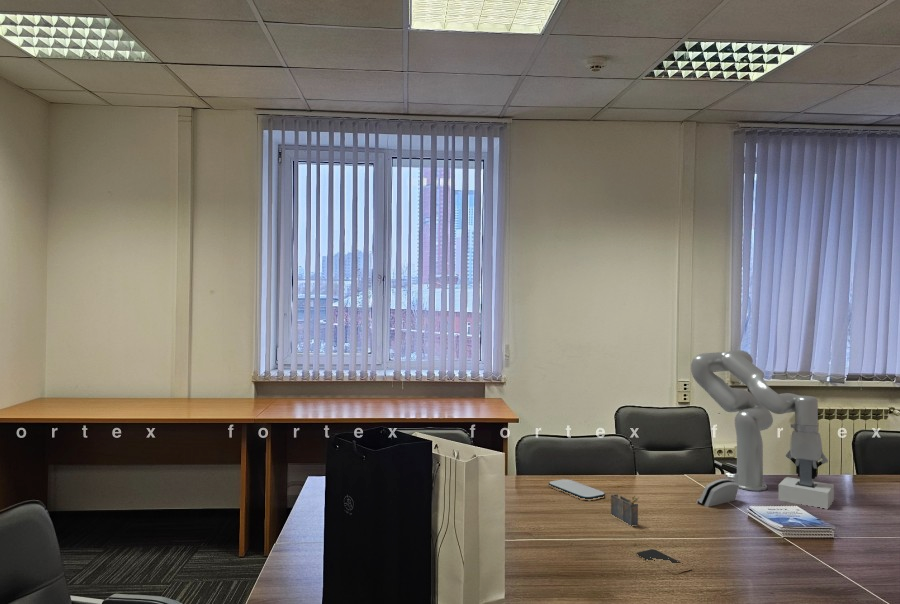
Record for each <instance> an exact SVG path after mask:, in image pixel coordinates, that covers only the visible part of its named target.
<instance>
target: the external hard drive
mask: <svg viewBox="0 0 900 604" xmlns="http://www.w3.org/2000/svg"><path fill="white" fill-rule="evenodd" d="M549 485H551V486H553V487H556V488H558V489H561V490H563V491H565V492H568V493H571V494H573V495H575V496H578V497H580V498H585V499H593V498H598V497H603V496H605V497H606V493H605V491H602V490H599V489H597V488H593V487H591V486H588V485H586V484H584V483H581V482H577V481H575V480H571V479H567V478H566V479H565V478H564V479H563V478H562V479H556V480H551V481H549V482H548V486H549Z"/></svg>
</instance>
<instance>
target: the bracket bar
mask: <svg viewBox="0 0 900 604" xmlns="http://www.w3.org/2000/svg"><path fill="white" fill-rule="evenodd" d="M799 464H800V477H799V479H800V486H805V487H811V488H814V481H815V479H812V468H813V463H812V460H804V459H799Z"/></svg>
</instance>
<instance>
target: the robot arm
mask: <svg viewBox="0 0 900 604" xmlns="http://www.w3.org/2000/svg"><path fill="white" fill-rule="evenodd" d="M753 361H754V360H753V357H752V355H751V354H750V353H749V352H748V351H745V350H741V349H740V350H730V351H722V352H720V351H719V352H704V353H700V354H697V355H695V356H694V358H693V359H692V361H691V363H690V373H691V375H692V377H693V379H694V381H695V382H696V383H697V384H698V385H699V386H700V388H702V389H703V390H704V391H705V392H706V393H707V394H708V395H709V396H710V397H711V399H712V400H714V402H715V403H717V405H718V406H720V408H721V409H723V410H724V411H725V412H727V413H736V412H737V413H736V415H735V417H734V428H735V433H736V473H735V472H734V473H732V472H731V473H730V472H725V477H726V479H729V480H731V479H732V481H733V482H734V483H736V484H737V485H738V486H739V487H738V489H742V490H747V491H753V492H754V491H755V492H758V491H759V492H760V491H762V492H763V491H766V490H767V489H768V486H767V484H766V483H764V467H763V466H764V461H763V460H764V459H763V458H764V448H763V447H764V443H763V437H762V435H761V431H765V430H768V429H769V428H771V427H772V425H773V422H774V418H773V415H772V413H773V414H776V415H784V414H791V413H794V423H791V424H790V428H791V429H793V430H792V432H791V437H790V439H791V440H790V448H789V451H787V453H786V454H785V457H786V458H787V459H788V460H791V462H792V463H793V464H794V465H795V468H796V469H795V474H797V477H798V478H800V464H799V459H804V460H812V463H813V468H812V479H814V480H815V479H816V478H817V477H818V468H819V467H820V466H822V465H824V464H827V463H828V462H829V459H828V458H827V456H826V455H825V454H824V452H823V444H822V437H821V433H819V426H818V425H819V418H818V416H819V415H818V414H819V413H818V412H819V411H818V410H819V407H818V405H819V404H818V399H817V397H815V396H812V395H811V396H810V395H799V394H796V393H792V392H791V393H789V392H785V393H778V392H776V391H775V390H773V389H772V388H771V387H770V386H769V385H768V384H767V383H766V382H765V380H764V378H765V372H764V371H763V370H761V369H760V368H759V367H758V366H756V365H755V364H754V362H753ZM717 372H721V373H722V372H729V373H730V374H732V376H734V377H735V378H736V379H738V380H739V381H740V382H741V383H742V384H743V385H745V386H747V389H749V391H748V390H747V389H743V388H732V387H731V386H730V385H729V384H728V383H726V381H725V380H724V379H723V378H721V377H720V376H719V375H717V374H715V373H717ZM821 459H822V460H821Z"/></svg>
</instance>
